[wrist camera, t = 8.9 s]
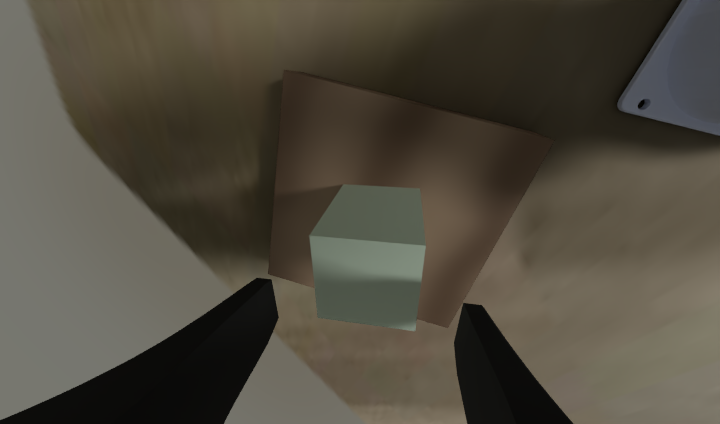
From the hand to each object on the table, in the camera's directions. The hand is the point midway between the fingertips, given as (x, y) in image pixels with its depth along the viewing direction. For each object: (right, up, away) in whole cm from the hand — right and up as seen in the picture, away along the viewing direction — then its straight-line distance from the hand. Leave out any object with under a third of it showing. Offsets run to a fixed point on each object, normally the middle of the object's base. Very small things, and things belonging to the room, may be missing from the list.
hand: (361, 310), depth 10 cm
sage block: (+1, +3, +6) cm, 7 cm away
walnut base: (+2, +4, +9) cm, 10 cm away
